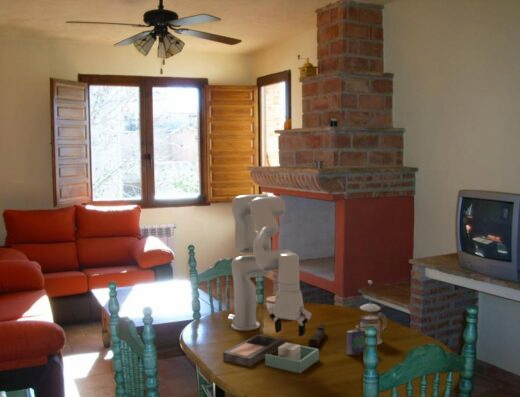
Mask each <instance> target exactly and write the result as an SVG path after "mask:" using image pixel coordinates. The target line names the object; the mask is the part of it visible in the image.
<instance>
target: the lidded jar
mask: <svg viewBox="0 0 520 397" xmlns="http://www.w3.org/2000/svg"><path fill="white" fill-rule="evenodd" d="M275 297H276V295H272V296H267V297H266V298H265V301H266V308H267V310H268V309H269V308H271V307H273V306H275ZM268 312H269V310H268ZM274 313H275V309H274Z"/></svg>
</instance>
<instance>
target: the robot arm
mask: <svg viewBox="0 0 520 397" xmlns="http://www.w3.org/2000/svg"><path fill="white" fill-rule="evenodd" d="M231 210H232V211H231V212H232V214H233V218H234V225H235V226H234V227H235V228H234V243H235V244H234V245H235V250H236V252H237V253H238V254H249V255H239V256H236V257H235V258H233V259H232V261H231V266H230V267H231V273H232V279H233V299H234V301H233V302H234V304H233V305H234V307H233V308H234V314H232V313H231V314H229V315H228V317H227V320H228V321H232V323H231V325H230V327H231V329H233V330H236V331H241V332H242V331H243V332H244V331H245V332H246V331H247V332H248V331H255V330H257V329H258V328H260V322H259V321H257V304H256V303H257V296H256V295H257V294H256V292H257V289H256V285H255V283H254V282H253V281H252V279H251V278H255V277H264V276H267V275H269V274H270V272H272V271H278V272H277V273H278V275H277V276H278V279H277V280H278V282H276V283H275V286H276V287H277V290H276V293H275V296H276V297H275V306H273V307H271V308H269V309H267V310H269V311H268V313H269V314H270V317H271V318H272V319H273V322H274V330H275V333H276V334H277V333H280V332H281V331H282V320H281V319H283V320H288V321H297V323H298V337H302V336H304V335H305V334H306V324H307V323H308V322H310V319H311V317H312V313H311V312H310V311H308V310H307V309H305V307H304V300H303V294H302V290H300V256H299V254H297V253H295V252H293V251H292V250H290V249H285V248H284V249H275V250H274V249H273V250H272V237H274V236H275V235H276V234H277V233H278V232H279V230H280V226H279V224H278V223H279V222H278V221H277V219H276V218H280V217H283V216H284V215H285V212H286V204H285V202H284V199H283V198H281V197H280V196H279V195H274V194H270V193H268V194H267V193H266V194H265V193H260V194H242V195H237V196H235V197H234V198H233V199H232V202H231ZM255 229H256V230H255ZM251 254H252V255H251ZM274 309H275V313H274ZM304 316H305V318H304Z"/></svg>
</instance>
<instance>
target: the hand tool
mask: <svg viewBox="0 0 520 397" xmlns="http://www.w3.org/2000/svg"><path fill="white" fill-rule="evenodd" d="M324 337H325V324H320V325H319V326H318V327H317V330H316V332H315V333H314V334H313V336H312V337H311V338H309V339H308V347H310V348H315V349H318V347H319V344H320V343H321V341H322V339H324Z"/></svg>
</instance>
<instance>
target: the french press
mask: <svg viewBox="0 0 520 397" xmlns="http://www.w3.org/2000/svg"><path fill="white" fill-rule="evenodd" d="M367 284H369V285H372V284H373V281H372V280H371V279H369V280H367ZM359 309H360V310H361V311H364V312H368V313H371V312H372V313H373V312H378V311H380V310H381V307H380V306H378V304H376V303H371V302H369V303H365V304H362V305H361V306H359ZM380 317H381V318H382V320H383V321H387V318H386V316H385V315H384V314H383V313H382V312H379V313H377V315H373V314H372V315H371V314H365V315H361V317H360V318H361V320H360V328H368V327H367V326H374V327H375V328H376V329H377V331H378V333H377V345H381V344H383V340H382V339H381V331H383V330H385V329H386V326H387V323H384V325H383V326H382V328H381V321H380V320H379V319H380ZM377 345H376V346H377Z"/></svg>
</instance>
